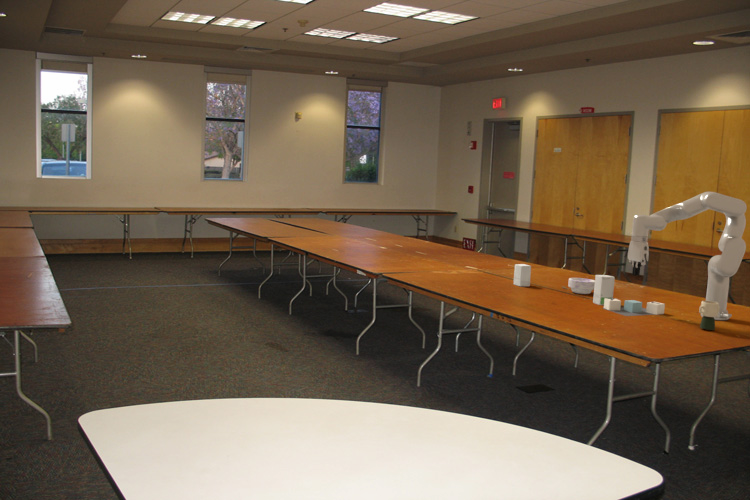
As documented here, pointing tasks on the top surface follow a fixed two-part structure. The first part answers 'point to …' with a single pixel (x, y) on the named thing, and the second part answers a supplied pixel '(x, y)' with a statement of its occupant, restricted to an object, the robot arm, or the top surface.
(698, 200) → the robot arm
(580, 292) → the paper bowls
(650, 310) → the digit block one
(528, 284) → the supplement box
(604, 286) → the skincare box
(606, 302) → the digit block seven
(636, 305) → the plain block
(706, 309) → the character mug
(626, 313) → the mat
